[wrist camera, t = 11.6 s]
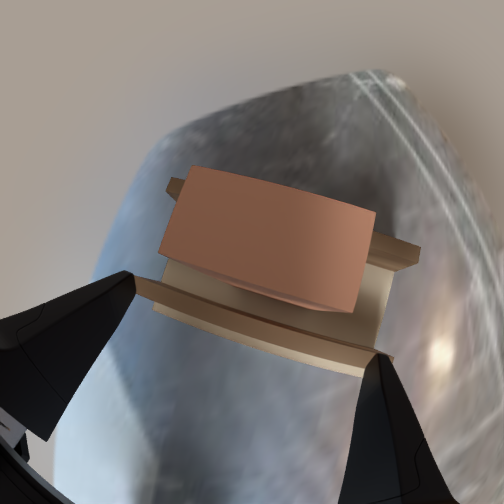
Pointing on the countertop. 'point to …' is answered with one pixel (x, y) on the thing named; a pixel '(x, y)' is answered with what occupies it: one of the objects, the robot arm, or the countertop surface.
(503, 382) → the countertop surface
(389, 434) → the robot arm
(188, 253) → the salmon orange rectangular block
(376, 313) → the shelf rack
